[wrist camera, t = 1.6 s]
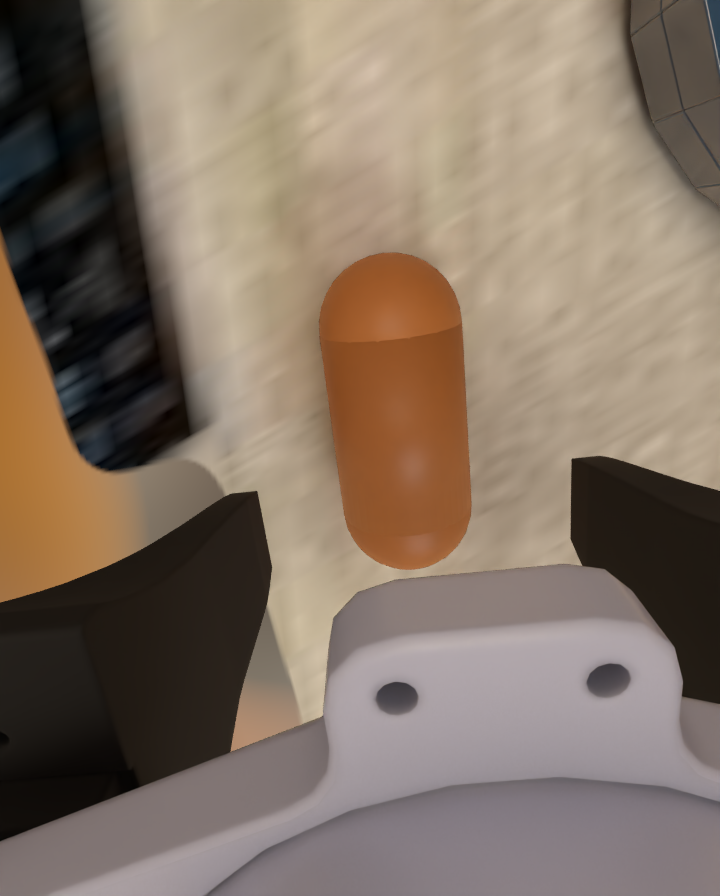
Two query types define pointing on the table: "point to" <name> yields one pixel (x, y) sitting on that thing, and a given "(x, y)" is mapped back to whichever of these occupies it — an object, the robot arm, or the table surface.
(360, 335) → the bun
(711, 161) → the bowl
